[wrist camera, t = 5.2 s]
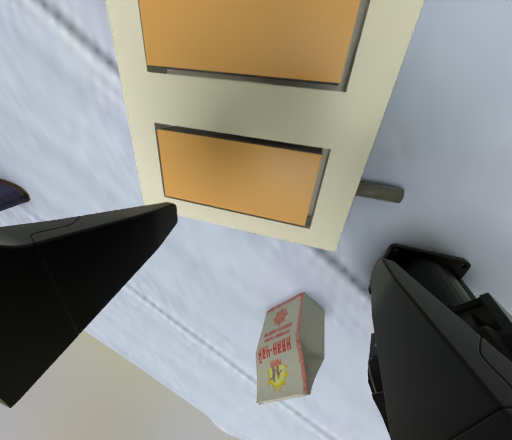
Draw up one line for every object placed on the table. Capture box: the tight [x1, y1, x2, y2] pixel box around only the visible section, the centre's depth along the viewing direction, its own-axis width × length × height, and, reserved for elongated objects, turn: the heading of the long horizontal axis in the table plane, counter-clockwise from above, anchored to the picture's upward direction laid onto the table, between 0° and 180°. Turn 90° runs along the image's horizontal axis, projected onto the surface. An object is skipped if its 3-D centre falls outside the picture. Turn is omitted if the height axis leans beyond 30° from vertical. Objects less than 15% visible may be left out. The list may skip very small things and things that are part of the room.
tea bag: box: [256, 292, 324, 405], centre depth 24 cm, size 4×7×10 cm, turn 139°
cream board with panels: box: [106, 0, 424, 252], centre depth 14 cm, size 23×30×3 cm
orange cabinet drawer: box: [157, 126, 322, 226], centre depth 19 cm, size 13×6×3 cm, turn 85°
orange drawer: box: [139, 0, 361, 86], centre depth 13 cm, size 13×6×3 cm, turn 85°
